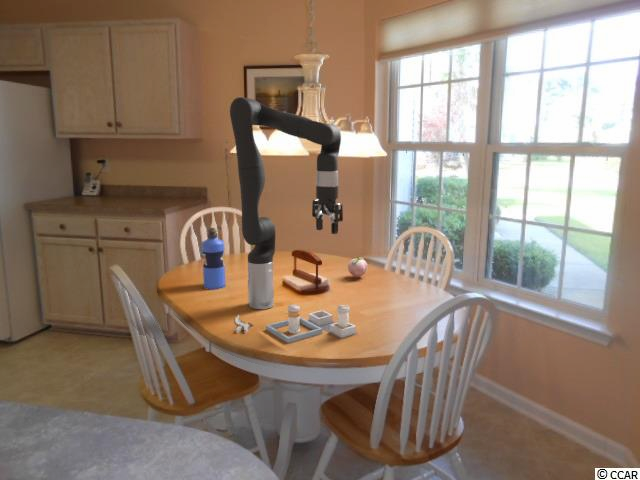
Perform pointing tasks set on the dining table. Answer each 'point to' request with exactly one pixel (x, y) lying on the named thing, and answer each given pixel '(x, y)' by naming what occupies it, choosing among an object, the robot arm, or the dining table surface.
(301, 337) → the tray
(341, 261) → the dining table surface
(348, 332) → the fuse holder
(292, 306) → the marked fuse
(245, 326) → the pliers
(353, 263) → the decorative fruit
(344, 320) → the fuse
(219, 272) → the water bottle
